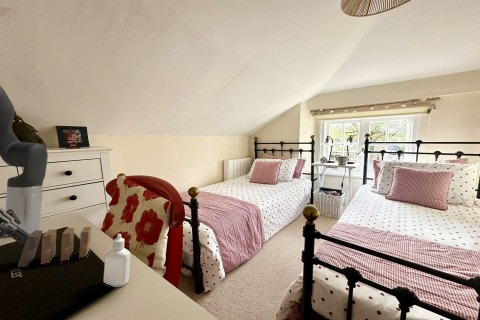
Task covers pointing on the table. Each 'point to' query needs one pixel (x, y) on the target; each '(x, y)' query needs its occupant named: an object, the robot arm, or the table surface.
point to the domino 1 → (48, 246)
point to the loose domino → (30, 248)
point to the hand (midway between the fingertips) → (26, 239)
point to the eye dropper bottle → (117, 264)
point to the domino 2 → (67, 244)
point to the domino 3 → (85, 241)
